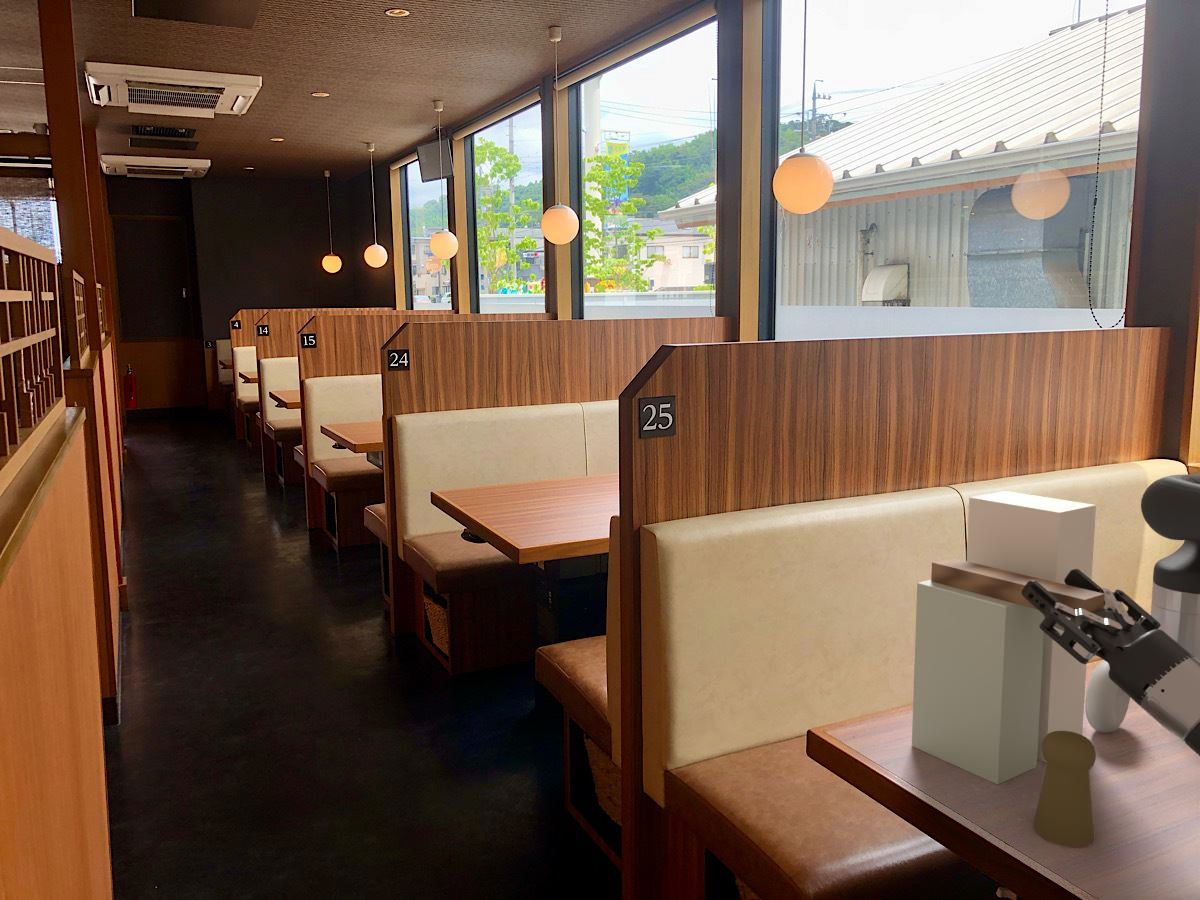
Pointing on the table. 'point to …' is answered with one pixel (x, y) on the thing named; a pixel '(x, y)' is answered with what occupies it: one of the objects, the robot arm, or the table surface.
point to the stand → (1000, 642)
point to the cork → (1066, 790)
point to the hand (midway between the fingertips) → (1048, 579)
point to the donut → (1105, 701)
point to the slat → (1009, 585)
